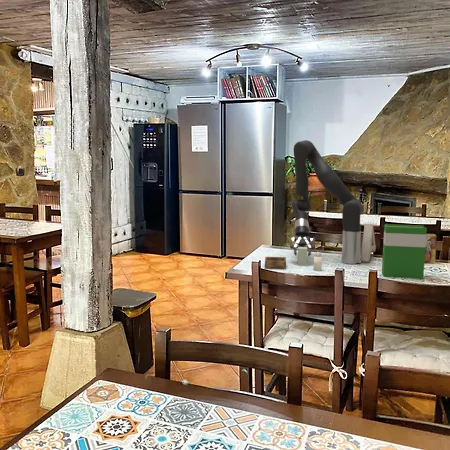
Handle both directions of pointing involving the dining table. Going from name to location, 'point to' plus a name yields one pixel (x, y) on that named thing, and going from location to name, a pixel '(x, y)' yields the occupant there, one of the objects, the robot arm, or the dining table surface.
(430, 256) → the candy box
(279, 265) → the walnut caddy
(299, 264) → the sage block
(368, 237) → the wall bracket
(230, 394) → the dining table surface
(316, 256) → the salt shaker
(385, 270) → the hardback book
